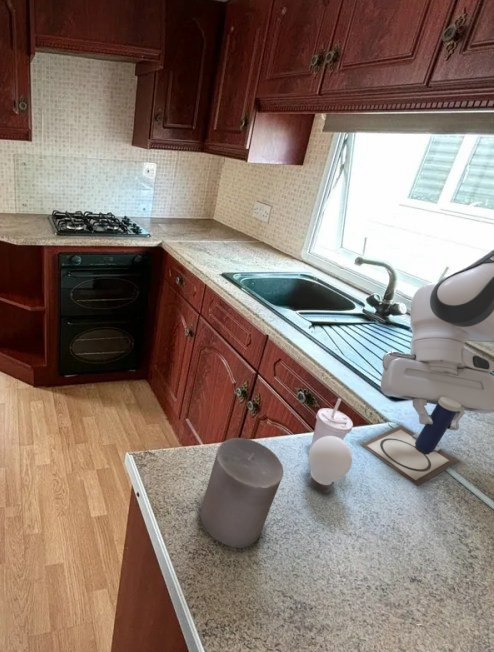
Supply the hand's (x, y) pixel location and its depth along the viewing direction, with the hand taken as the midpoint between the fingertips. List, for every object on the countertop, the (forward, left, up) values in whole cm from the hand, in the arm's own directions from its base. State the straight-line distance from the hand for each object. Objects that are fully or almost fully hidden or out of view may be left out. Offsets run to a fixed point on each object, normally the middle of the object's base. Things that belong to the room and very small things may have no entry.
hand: (438, 427), depth 78 cm
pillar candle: (+6, +46, -10) cm, 47 cm away
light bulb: (+5, +25, -10) cm, 27 cm away
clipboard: (+2, -1, -10) cm, 10 cm away
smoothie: (+10, +18, -10) cm, 23 cm away
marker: (+1, 0, -7) cm, 7 cm away
